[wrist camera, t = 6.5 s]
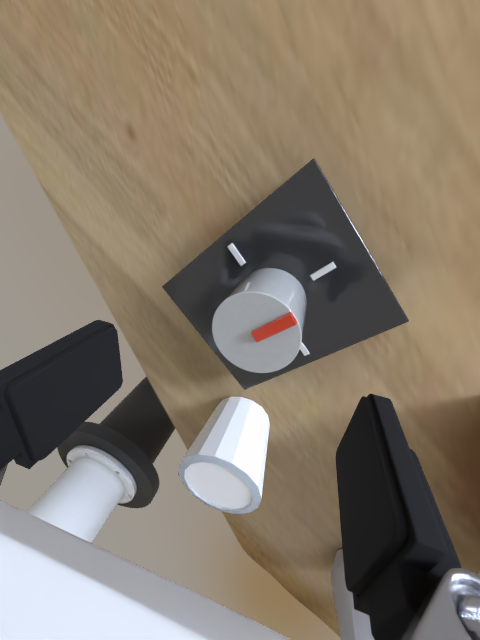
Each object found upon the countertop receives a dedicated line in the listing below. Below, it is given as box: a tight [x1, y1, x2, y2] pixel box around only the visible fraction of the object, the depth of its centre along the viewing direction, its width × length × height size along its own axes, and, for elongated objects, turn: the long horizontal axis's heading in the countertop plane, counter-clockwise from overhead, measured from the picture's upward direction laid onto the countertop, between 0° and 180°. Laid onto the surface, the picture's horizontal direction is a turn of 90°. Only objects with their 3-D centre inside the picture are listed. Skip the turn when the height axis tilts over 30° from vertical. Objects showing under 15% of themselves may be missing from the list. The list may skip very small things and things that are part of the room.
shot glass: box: [178, 397, 270, 514], centre depth 22 cm, size 7×7×7 cm
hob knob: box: [212, 268, 307, 373], centre depth 14 cm, size 4×4×5 cm
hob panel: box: [162, 159, 409, 390], centre depth 17 cm, size 12×10×3 cm
